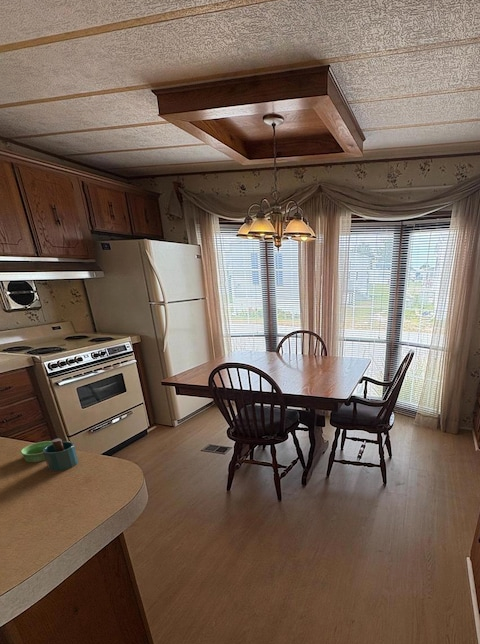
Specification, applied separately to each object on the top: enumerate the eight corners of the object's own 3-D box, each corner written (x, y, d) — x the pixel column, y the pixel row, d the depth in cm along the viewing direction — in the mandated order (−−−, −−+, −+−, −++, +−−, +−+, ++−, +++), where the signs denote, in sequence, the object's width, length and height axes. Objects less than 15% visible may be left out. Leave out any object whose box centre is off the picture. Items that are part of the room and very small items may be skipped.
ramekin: (30, 455, 110) (26, 443, 108) (64, 451, 113) (60, 439, 111) (20, 469, 102) (16, 456, 100) (57, 464, 106) (53, 451, 104)
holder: (43, 473, 100) (35, 451, 98) (65, 461, 107) (59, 440, 104) (64, 477, 99) (58, 454, 96) (85, 464, 106) (79, 443, 103)
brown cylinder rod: (58, 468, 102) (49, 441, 99) (64, 464, 104) (56, 438, 101) (64, 469, 102) (56, 442, 98) (70, 465, 104) (63, 438, 100)
